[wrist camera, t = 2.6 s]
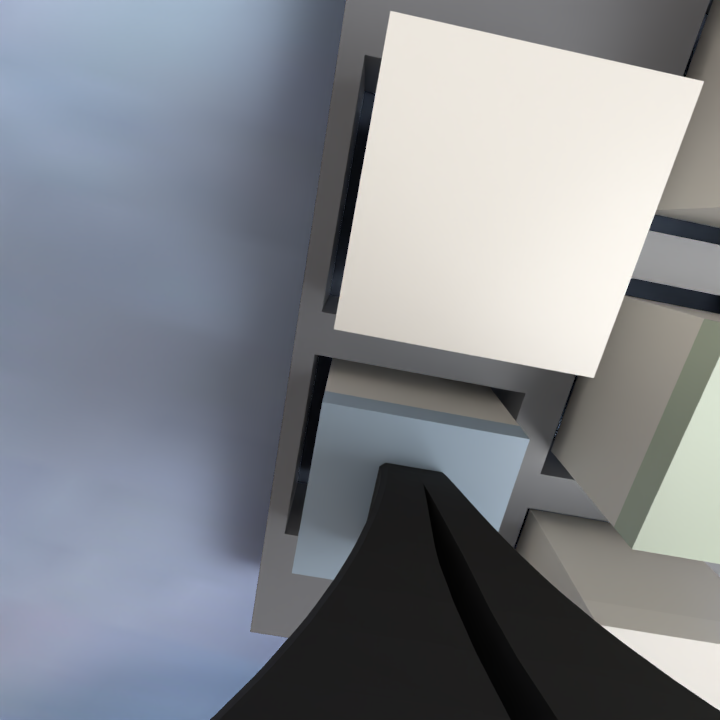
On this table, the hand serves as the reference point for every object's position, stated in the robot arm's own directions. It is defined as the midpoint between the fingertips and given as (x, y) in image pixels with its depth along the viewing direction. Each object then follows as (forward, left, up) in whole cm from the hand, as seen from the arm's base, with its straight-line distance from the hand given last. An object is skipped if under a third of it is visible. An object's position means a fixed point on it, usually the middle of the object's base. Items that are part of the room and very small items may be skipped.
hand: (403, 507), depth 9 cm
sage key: (+3, -6, -2) cm, 7 cm away
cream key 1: (+6, 0, -2) cm, 6 cm away
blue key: (0, 0, -3) cm, 3 cm away
